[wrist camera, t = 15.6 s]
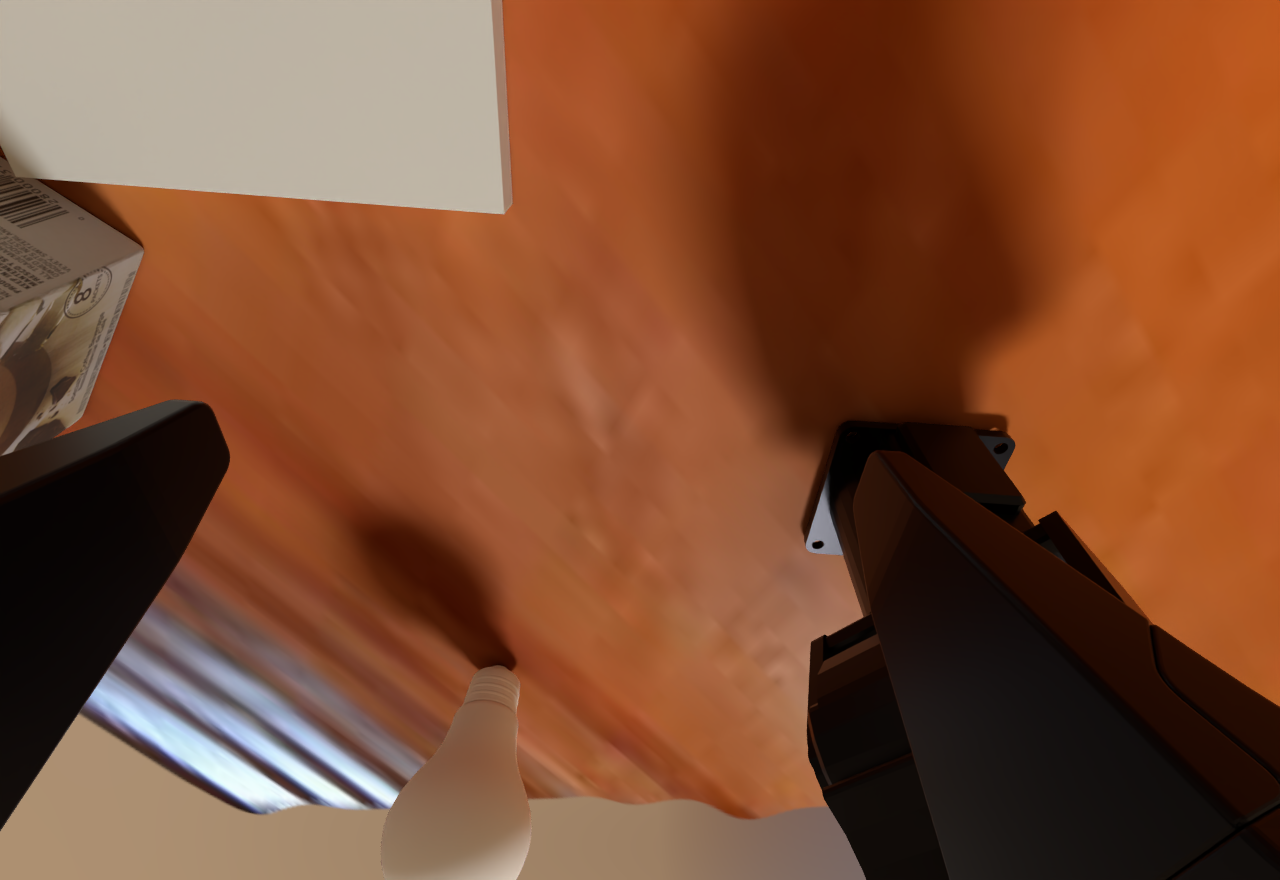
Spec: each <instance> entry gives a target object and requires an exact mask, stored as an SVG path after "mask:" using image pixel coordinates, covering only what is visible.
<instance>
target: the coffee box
mask: <svg viewBox="0 0 1280 880" xmlns="http://www.w3.org/2000/svg"><path fill="white" fill-rule="evenodd" d="M143 254H144V249H143V248H142V247H141V246H140V245H139V244H137V243H136V242H134V241H133V240H131V239H129V238H128V237H126V236H125V235H123V234H121V233H120V232H118V231H117V230H115V229H113V228H112V227H110V226H109V225H107V224H106V223H104V222H102V221H101V220H99V219H98V218H96V217H95V216H93V215H91V214H90V213H88V212H87V211H85V210H84V209H82V208H80V207H79V206H77V205H76V204H74V203H73V202H71V201H69V200H68V199H66V198H65V197H63V196H62V195H60V194H58V193H57V192H55V191H54V190H52V189H51V188H49V187H47V186H46V185H44V184H43V183H41V182H40V181H38V180H36V179H35V178H25V177H16V176H15V174H14V172H13V170H12V168H11V166H10V164H9V162H8V161H6V160H5V159H3V158H1V157H0V456H2V455H5V454H8V453H11V452H14V451H17V450H20V449H23V448H26V447H29V446H32V445H35V444H38V443H41V442H44V441H47V440H50V439H52V438H54V437H55V436H56V435H58V434H59V433H61V432H62V431H63V430H65V429H66V428H68V427H70V426H71V425H72V424H74V423H75V422H76V421H78V420H79V419H80V418H81V417H82V415H83V413H84V411H85V408H86V406H87V403H88V400H89V398H90V395H91V392H92V389H93V387H94V384H95V381H96V379H97V376H98V373H99V371H100V368H101V365H102V363H103V360H104V357H105V355H106V352H107V349H108V347H109V344H110V342H111V339H112V336H113V334H114V331H115V328H116V326H117V323H118V320H119V318H120V315H121V312H122V310H123V307H124V304H125V302H126V299H127V297H128V294H129V291H130V289H131V286H132V283H133V281H134V278H135V275H136V273H137V270H138V267H139V264H140V262H141V259H142V257H143Z"/></svg>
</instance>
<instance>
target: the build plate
mask: <svg viewBox="0 0 1280 880" xmlns="http://www.w3.org/2000/svg"><path fill="white" fill-rule="evenodd" d="M0 146H1V148H2V150H3V152H4V154H5V156H6V158H7V160H8V162H9V164H10V166H11V168H12V170H13V172H14V174H15V176H16V177H25V178H38V179H51V180H64V181H77V182H90V183H103V184H116V185H129V186H142V187H155V188H168V189H181V190H194V191H207V192H220V193H233V194H246V195H259V196H273V197H286V198H299V199H312V200H325V201H338V202H351V203H364V204H377V205H390V206H403V207H416V208H429V209H442V210H455V211H468V212H481V213H494V214H505V213H506V211H507V210H508V209H509V208H510V206H511V205H512V204H513V201H512V182H511V163H510V144H509V125H508V106H507V87H506V68H505V49H504V30H503V11H502V0H0Z"/></svg>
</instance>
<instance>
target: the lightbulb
mask: <svg viewBox="0 0 1280 880" xmlns="http://www.w3.org/2000/svg"><path fill="white" fill-rule="evenodd" d="M519 691H520V681H519V679H518V677H517V676H516V675H515V674H514V673H513V672H511V671H509V670H508V669H507V668H506V667H504V666H500V665H495V666H492V667H486V668H483V669H481V670H479V671H478V672H476V673H475V674H474V676H473V678H472V681H471V683H470V687H469V689H468V691H467V695H466V697H465V700H464V704H463V705H462V706H461V707H460V708H459V709H458V711H457V712H456V714H455V716H454V719H453V722H452V724H451V727H450V729H449V731H448V733H447V735H446V737H445V739H444V741H443V743H442V744H441V745H440V747H439V748H438V750H437V751H436V752H435V754H434V755H433V756H432V757H431V758H430V759H429V760H428V761H427V763H426V764H425V765H424V766H423V767H422V768H421V769H420V770H419V771H418V772H417V773H416V774H415V775H414V776H413V777H412V778H411V780H410V781H409V782H408V783H407V784H406V785H405V787H404V788H403V789H402V790H401V792H400V793H399V795H398V797H397V799H396V800H395V802H394V804H393V806H392V807H391V809H390V811H389V813H388V816H387V819H386V822H385V824H384V828H383V835H382V841H381V865H382V870H383V875H384V878H385V880H516V879H517V877H518V875H519V873H520V871H521V869H522V867H523V864H524V862H525V859H526V856H527V853H528V850H529V846H530V840H531V814H530V808H529V804H528V800H527V796H526V792H525V788H524V785H523V782H522V779H521V776H520V773H519V770H518V763H517V757H516V739H517V732H518V718H517V716H516V710H517V706H518V699H519Z"/></svg>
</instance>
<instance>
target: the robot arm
mask: <svg viewBox="0 0 1280 880" xmlns="http://www.w3.org/2000/svg"><path fill="white" fill-rule="evenodd" d="M851 432H856V434H855V435H854V436H853V437H846V436H847V435H848V434H849V433H851ZM1000 443H1002V444H1001V446H999V447H997V448H994V447H995V446H996V445H998V444H1000ZM1014 449H1015V442H1014V440H1013V439H1012V438H1011V437H1010V436H1009V435H1008V434H1007V433H1006V432H1002V431H990V430H976V429H973V428H971V427H967V426H953V425H940V424H926V423H912V422H905V423H902V424H894V423H880V422H867V421H847V422H845V423H843V424H842V425H840V426H839V428H838V429H837V432H836V435H835V438H834V442H833V445H832V448H831V451H830V455H829V458H828V461H827V464H826V468H825V471H824V474H823V477H822V481H821V484H820V487H819V491H818V494H817V497H816V500H815V504H814V507H813V510H812V513H811V517H810V520H809V523H808V527H807V530H806V533H805V536H804V542H805V546H806V548H807V550H808V551H810V552H812V553H820V554H834V555H843V556H844V559H845V562H846V565H847V568H848V571H849V574H850V577H851V580H852V583H853V586H854V589H855V592H856V595H857V598H858V601H859V604H860V607H861V610H862V614H863V618H861V619H859V620H857V621H856V622H854V623H852V624H850V625H848V626H846V627H844V628H842V629H841V630H839V631H837V632H835V633H833V634H831V635H829V636H826V635H823V636H821V637H819V638H817V639H816V640H814V641H812V642H811V651H810V673H809V694H808V716H807V744H808V758H809V761H810V763H811V765H812V767H813V769H814V772H815V775H816V778H817V780H818V782H819V784H820V787H821V789H822V793H823V797H824V800H825V801H826V803H827V805H828V806H829V808H830V810H831V811H832V813H833V815H834V816H835V818H836V820H837V821H838V823H839V824H840V826H841V828H842V829H843V831H844V833H845V834H846V836H847V838H848V841H849V842H850V845H851V847H852V849H853V851H854V853H855V855H856V857H857V859H858V862H859V864H860V866H861V868H862V870H863V872H864V875H865V877H866V880H1280V707H1279V706H1278V705H1276V704H1274V703H1273V702H1271V701H1270V700H1268V699H1266V698H1265V697H1263V696H1262V695H1260V694H1258V693H1257V692H1255V691H1254V690H1252V689H1251V688H1249V687H1247V686H1246V685H1244V684H1243V683H1241V682H1240V681H1238V680H1237V679H1235V678H1234V677H1232V676H1231V675H1229V674H1228V673H1226V672H1225V671H1223V670H1222V669H1220V668H1219V667H1217V666H1216V665H1214V664H1213V663H1211V662H1210V661H1208V660H1207V659H1205V658H1204V657H1202V656H1201V655H1199V654H1198V653H1196V652H1195V651H1193V650H1192V649H1190V648H1189V647H1187V646H1186V645H1185V644H1183V643H1182V642H1180V641H1179V640H1177V639H1176V638H1174V637H1173V636H1172V635H1170V634H1169V633H1167V632H1166V631H1164V630H1163V629H1161V628H1160V627H1159V626H1157V625H1153V624H1152V622H1151V621H1150V620H1149V619H1148V617H1147V616H1146V615H1145V614H1144V612H1143V611H1142V610H1141V609H1140V608H1139V606H1138V605H1137V604H1136V603H1135V601H1134V600H1133V599H1132V598H1131V596H1130V595H1129V594H1128V593H1127V592H1126V590H1125V589H1124V588H1123V587H1122V586H1121V584H1120V583H1119V582H1118V581H1117V580H1116V579H1115V578H1114V576H1113V575H1112V574H1111V573H1110V572H1109V571H1108V570H1107V568H1106V567H1105V566H1104V565H1103V564H1102V563H1101V562H1100V560H1099V559H1098V558H1097V557H1096V556H1095V555H1094V553H1093V552H1092V551H1091V550H1090V549H1089V548H1088V547H1087V545H1086V544H1085V543H1084V542H1083V541H1082V540H1081V539H1080V537H1079V536H1078V535H1077V534H1076V533H1075V532H1074V531H1073V529H1072V528H1071V527H1070V526H1069V525H1068V524H1067V523H1066V521H1065V520H1064V519H1063V518H1062V517H1061V516H1060V515H1059V513H1058V512H1057V511H1054V512H1052V513H1051V514H1049V515H1047V516H1045V517H1043V518H1041V519H1039V520H1038V521H1039V522H1040V523H1039V524H1038V525H1036V526H1034V524H1033V523H1032V522H1031V520H1030V519H1029V517H1028V516H1027V515H1026V513H1025V512H1024V511H1023V507H1024V505H1025V504H1026V501H1025V499H1024V498H1023V496H1022V495H1021V493H1020V492H1019V491H1018V489H1017V488H1016V486H1015V485H1014V484H1013V482H1012V481H1011V480H1010V478H1009V477H1008V476H1007V474H1006V473H1005V472H1004V468H1005V466H1006V464H1007V463H1008V461H1009V459H1010V457H1011V455H1012V453H1013V451H1014ZM229 462H230V453H229V449H228V446H227V444H226V441H225V439H224V436H223V434H222V431H221V429H220V426H219V424H218V421H217V419H216V416H215V414H214V412H213V410H212V408H211V407H210V406H209V405H208V404H206V403H204V402H201V401H189V400H169V401H165V402H162V403H159V404H156V405H153V406H150V407H147V408H144V409H141V410H138V411H135V412H132V413H129V414H126V415H123V416H120V417H117V418H114V419H111V420H108V421H105V422H102V423H99V424H96V425H93V426H90V427H87V428H84V429H81V430H78V431H75V432H72V433H69V434H65V435H62V436H59V437H56V438H53V439H50V440H47V441H44V442H41V443H38V444H35V445H32V446H29V447H26V448H23V449H20V450H17V451H14V452H11V453H8V454H5V455H2V456H0V831H1V829H2V828H3V826H4V825H5V823H6V822H7V820H8V819H9V817H10V816H11V814H12V812H13V811H14V810H15V808H16V807H17V805H18V803H19V802H20V801H21V799H22V798H23V796H24V795H25V793H26V792H27V790H28V789H29V787H30V786H31V784H32V783H33V781H34V780H35V778H36V777H37V775H38V774H39V772H40V771H41V769H42V768H43V766H44V765H45V763H46V762H47V760H48V759H49V757H50V756H51V754H52V753H53V751H54V750H55V748H56V747H57V745H58V743H59V742H60V741H61V739H62V738H63V736H64V735H65V733H66V731H67V730H68V729H69V727H70V725H71V724H72V722H73V721H74V720H75V718H76V717H77V715H78V714H79V712H80V711H81V709H82V708H83V706H84V705H85V703H86V702H87V700H88V699H89V697H90V696H91V694H92V693H93V691H94V689H95V688H96V686H97V685H98V683H99V682H100V680H101V679H102V677H103V676H104V674H105V673H106V671H107V670H108V668H109V667H110V665H111V664H112V662H113V661H114V659H115V658H116V656H117V655H118V653H119V652H120V650H121V649H122V647H123V646H124V644H125V643H126V641H127V640H128V638H129V637H130V635H131V634H132V632H133V631H134V629H135V628H136V626H137V625H138V623H139V622H140V620H141V619H142V617H143V616H144V614H145V613H146V611H147V610H148V608H149V607H150V605H151V604H152V602H153V601H154V599H155V598H156V596H157V595H158V593H159V592H160V590H161V589H162V587H163V586H164V584H165V583H166V581H167V580H168V578H169V577H170V575H171V574H172V572H173V570H174V569H175V567H176V566H177V564H178V562H179V561H180V559H181V557H182V555H183V554H184V552H185V550H186V548H187V546H188V545H189V543H190V541H191V539H192V537H193V535H194V533H195V531H196V529H197V527H198V525H199V523H200V521H201V520H202V518H203V516H204V514H205V512H206V510H207V508H208V506H209V504H210V502H211V500H212V498H213V496H214V495H215V493H216V491H217V489H218V487H219V485H220V483H221V481H222V479H223V477H224V475H225V473H226V471H227V469H228V466H229ZM818 540H820V541H819V542H814V541H818Z"/></svg>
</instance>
